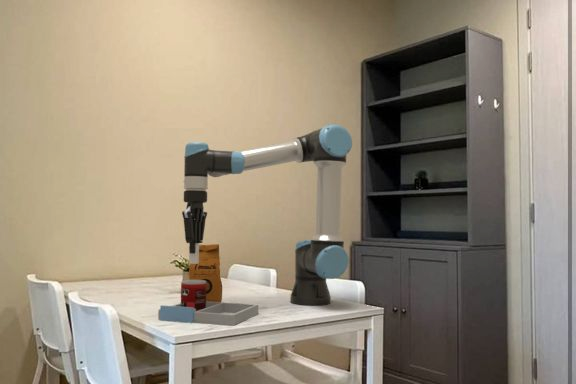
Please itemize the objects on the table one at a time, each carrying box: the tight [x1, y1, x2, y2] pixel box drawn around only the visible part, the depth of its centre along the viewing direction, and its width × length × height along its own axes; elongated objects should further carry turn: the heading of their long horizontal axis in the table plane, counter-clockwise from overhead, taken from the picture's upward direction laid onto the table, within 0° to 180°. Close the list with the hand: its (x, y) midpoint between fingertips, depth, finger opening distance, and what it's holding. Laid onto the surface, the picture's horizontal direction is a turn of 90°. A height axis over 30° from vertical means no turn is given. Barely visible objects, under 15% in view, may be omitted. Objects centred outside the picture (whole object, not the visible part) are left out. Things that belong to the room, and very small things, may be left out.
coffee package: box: [188, 243, 223, 302], centre depth 186 cm, size 10×12×22 cm
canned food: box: [180, 279, 206, 312], centre depth 167 cm, size 8×8×11 cm
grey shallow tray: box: [157, 301, 259, 327], centre depth 164 cm, size 25×21×4 cm
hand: (193, 263), depth 167 cm, fingers closed
